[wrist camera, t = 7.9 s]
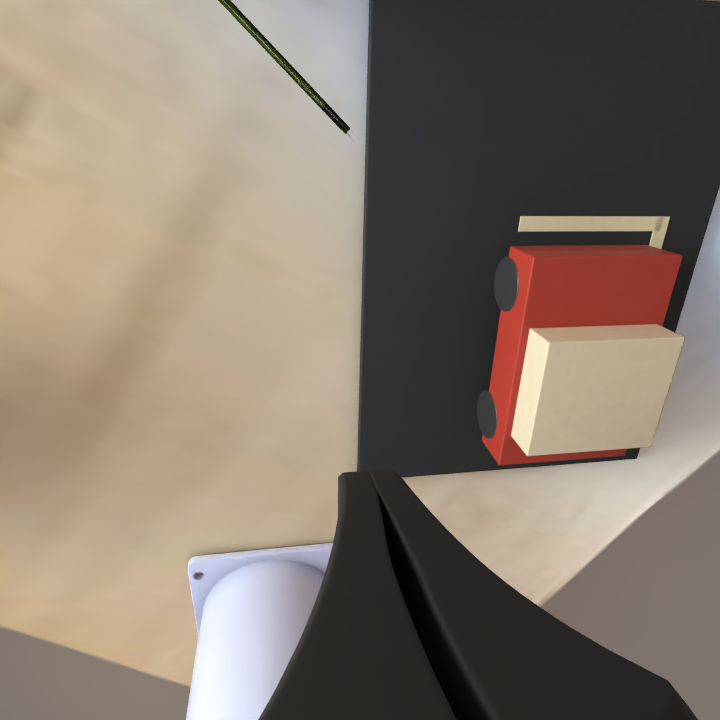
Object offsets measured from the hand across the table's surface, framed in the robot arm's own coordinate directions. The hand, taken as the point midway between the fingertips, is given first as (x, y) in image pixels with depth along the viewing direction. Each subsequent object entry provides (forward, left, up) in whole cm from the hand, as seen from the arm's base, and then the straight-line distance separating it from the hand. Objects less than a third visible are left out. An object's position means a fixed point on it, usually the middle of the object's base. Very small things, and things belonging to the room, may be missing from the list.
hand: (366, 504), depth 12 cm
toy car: (0, -7, -8) cm, 10 cm away
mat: (+3, -9, -10) cm, 14 cm away
